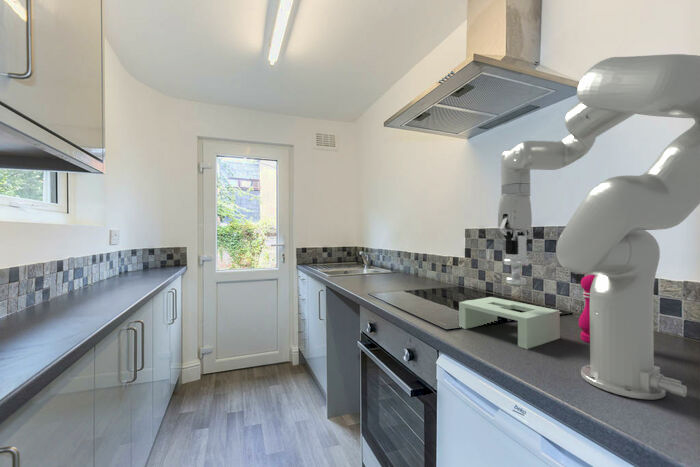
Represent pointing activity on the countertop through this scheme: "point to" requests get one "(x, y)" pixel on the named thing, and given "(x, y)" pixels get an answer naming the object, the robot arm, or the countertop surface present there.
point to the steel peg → (517, 262)
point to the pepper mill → (586, 308)
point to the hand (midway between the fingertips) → (516, 253)
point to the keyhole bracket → (532, 324)
